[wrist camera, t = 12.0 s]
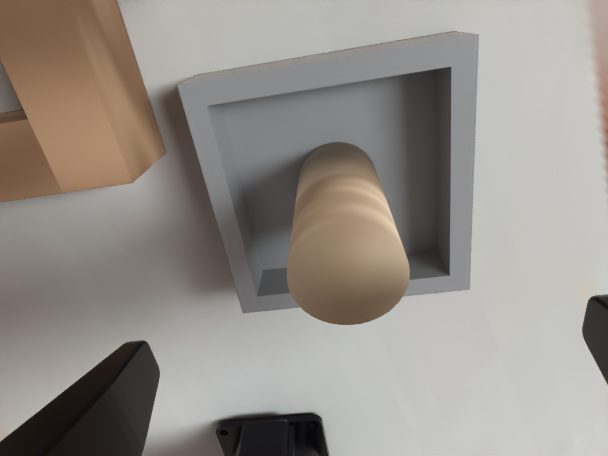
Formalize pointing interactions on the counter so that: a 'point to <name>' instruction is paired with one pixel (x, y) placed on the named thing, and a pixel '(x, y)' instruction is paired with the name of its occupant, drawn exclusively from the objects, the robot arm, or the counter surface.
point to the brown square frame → (72, 100)
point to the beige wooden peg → (344, 239)
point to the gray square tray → (350, 129)
